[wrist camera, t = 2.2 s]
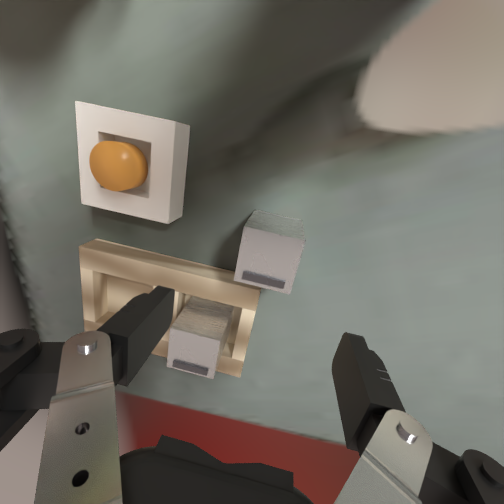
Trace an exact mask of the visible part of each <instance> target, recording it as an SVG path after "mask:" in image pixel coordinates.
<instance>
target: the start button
mask: <svg viewBox="0 0 504 504" xmlns="http://www.w3.org/2000/svg"><path fill="white" fill-rule="evenodd" d="M89 164H90V169H91V172H92V174H93V176H94V178H95V179H96V181H97V182H98V183H99V184H100V185H101V186H103V187H104V188H106V189H108V190H111V191H123V190H127V189H132V188H136V187H139V186H141V185H142V184H143V183H144V182H145V180H146V178H147V175H148V164H147V160H146V158H145V156H144V154H143V153H142V151H141V150H140V149H139V148H138V147H136V146H135V145H133V144H131V143H128V142H117V141H102V142H99V143H98V144H96V145H95V146H94V147H93V149H92V150H91V153H90V157H89Z"/></svg>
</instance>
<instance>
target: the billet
mask: <svg viewBox="0 0 504 504" xmlns="http://www.w3.org/2000/svg"><path fill="white" fill-rule="evenodd" d="M233 310H234V306H232V305H228V304H224V303H220V302H216V301H212V300H208V299H204V298H200V297H196V296H192V297H191V299H190V300H189V302H188V303H187V305H186V306H185V307H184V309H183V310H182V312H181V313H180V315H179V316H178V317H177V319H176V320H175V322H174V323H173V324H172V326H171V327H170V334H169V346H168V357H167V367H170V368H174V369H177V370H181V371H185V372H189V373H192V374H196V375H200V376H203V377H207V378H211V379H214V376H215V373H216V370H217V367H218V364H219V361H220V359H221V356H222V353H223V350H224V347H225V344H226V341H227V338H228V336H229V331H230V326H231V321H232V316H233Z"/></svg>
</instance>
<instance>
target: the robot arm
mask: <svg viewBox="0 0 504 504" xmlns="http://www.w3.org/2000/svg"><path fill="white" fill-rule="evenodd" d="M174 298H175V290H174V289H172V288H168V287H164V286H160V285H158V286H157V287H155V288H154V289H153V290H152V291H151V292H150V293H149V294H147V293H142V294H140V295H138V296H136V297H133V298H132V299H131V300H130V301H129V302H128V303H127V304H126V305H124V306H123V307H122V308H121V309H120V311H118V312H116V313H115V314H114V315H113V316H112V317H111V318H110V319H109V320H107V321H106V322H105V323H104V324H103V325H102V326H101V327H99V328H98V329H97V330H96V331H86V332H82V333H79V334H76V335H74V336H73V337H71V338H70V339H68V340H67V341H66V342H40V339H39V334H38V333H37V332H36V331H34V330H31V329H15V330H10V331H7V332H3V333H1V334H0V451H1V450H2V449H3V448H4V447H5V446H6V445H7V444H8V443H9V442H10V441H11V440H12V438H13V437H14V436H15V435H16V434H17V433H18V432H19V431H20V430H21V429H22V428H23V426H24V425H25V424H26V423H27V422H28V421H29V420H30V419H31V418H32V417H33V416H34V415H35V413H36V412H37V411H38V410H39V409H49V413H48V420H47V426H46V432H45V438H44V444H43V450H42V457H41V463H40V469H39V476H38V482H37V489H36V494H35V501H34V504H313V502H312V501H311V500H310V499H309V498H308V497H307V496H306V495H304V494H303V493H302V492H301V491H299V490H298V489H297V488H295V487H294V486H293V472H290V471H286V470H283V469H279V468H275V467H272V466H269V465H265V464H262V463H235V464H226V463H222V462H221V461H219V460H218V459H216V458H214V457H213V456H211V455H210V454H208V453H207V452H205V451H204V450H202V449H200V448H199V447H197V446H196V445H194V444H192V443H188V442H185V441H182V440H178V439H175V438H171V437H168V436H164V435H162V436H161V437H160V440H159V442H158V444H157V446H156V447H155V446H153V447H145V448H140V449H137V450H133V451H131V452H129V453H126V454H124V455H122V456H120V457H119V446H118V432H117V417H116V403H115V388H114V387H115V386H116V385H117V384H120V385H124V386H128V385H129V383H130V382H131V381H132V379H133V378H134V376H135V375H136V374H137V372H138V371H139V369H140V368H141V367H142V365H143V364H144V362H145V361H146V360H147V358H148V357H149V355H150V354H151V353H152V351H153V350H154V348H155V347H156V346H157V344H158V343H159V341H160V340H161V339H162V337H163V336H164V334H165V333H166V332H167V330H168V329H169V327H170V324H171V322H172V318H173V309H174ZM332 375H333V380H334V385H335V390H336V395H337V400H338V405H339V410H340V415H341V420H342V426H343V431H344V436H345V441H346V446H347V449H351V450H355V451H358V452H359V455H360V459H359V461H358V463H357V464H356V466H355V468H354V470H353V471H352V473H351V475H350V477H349V478H348V480H347V482H346V484H345V485H344V487H343V489H342V491H341V492H340V494H339V496H338V498H337V500H336V501H335V503H334V504H504V467H503V466H502V465H500V464H499V463H498V462H497V461H495V460H494V459H492V458H491V457H489V456H488V455H486V454H484V453H482V452H480V451H477V450H472V449H469V450H466V451H465V452H464V453H463V454H462V456H461V457H459V456H457V455H455V454H454V453H452V452H450V451H448V450H446V449H444V448H442V447H441V446H439V445H437V444H435V443H434V442H432V440H431V438H430V435H429V434H428V432H427V431H426V429H425V428H424V427H423V426H422V425H421V424H420V423H419V422H418V421H417V420H416V419H415V418H413V417H412V416H411V415H409V414H407V413H406V412H405V409H404V407H403V405H402V403H401V401H400V398H399V396H398V394H397V392H396V390H395V388H394V385H393V383H392V382H391V379H390V377H389V374H388V373H387V370H386V368H385V366H384V363H383V361H382V360H381V359H380V358H379V357H378V355H377V354H376V353H375V352H374V351H372V350H369V349H368V347H367V344H366V342H365V339H364V337H362V336H359V335H355V334H351V333H347V332H345V333H344V334H343V336H342V338H341V341H340V343H339V346H338V348H337V351H336V353H335V356H334V358H333V362H332Z"/></svg>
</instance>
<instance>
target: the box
mask: <svg viewBox="0 0 504 504" xmlns="http://www.w3.org/2000/svg"><path fill="white" fill-rule="evenodd" d="M75 106H76V123H77V139H78V155H79V171H80V187H81V203H82V204H85V205H89V206H93V207H98V208H102V209H106V210H110V211H115V212H119V213H123V214H128V215H132V216H136V217H140V218H145V219H149V220H153V221H157V222H162V223H166V224H169V223H171V222H173V221H175V220H176V219H178V218H180V217H182V213H183V202H184V191H185V180H186V169H187V158H188V147H189V136H190V125H186V124H183V123H179V122H176V121H171V120H166V119H162V118H157V117H152V116H147V115H142V114H137V113H133V112H128V111H123V110H118V109H113V108H108V107H103V106H99V105H94V104H89V103H84V102H79V101H75ZM102 141H117V142H128V143H131V144H133V145H135V146H136V147H138V148H139V149H140V150H141V151H142V153H143V154H144V156H145V158H146V160H147V164H148V175H147V178H146V180H145V182H144V183H143V184H142V185H141V186H139V187H136V188H132V189H127V190H123V191H111V190H108V189H106V188H104V187H103V186H101V185H100V184H99V183H98V182H97V181H96V179H95V178H94V176H93V174H92V172H91V169H90V164H89V157H90V153H91V150H92V149H93V147H94V146H95V145H96V144H98V143H99V142H102Z"/></svg>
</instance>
